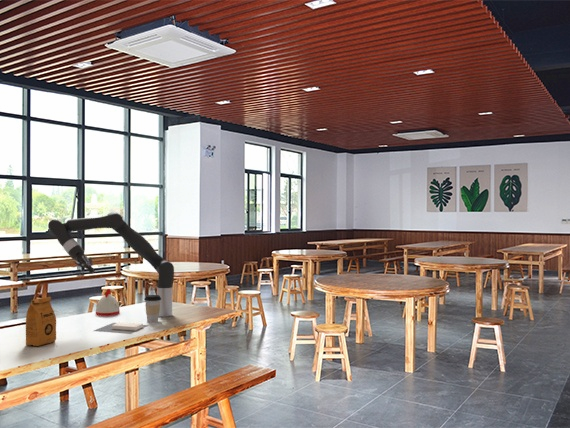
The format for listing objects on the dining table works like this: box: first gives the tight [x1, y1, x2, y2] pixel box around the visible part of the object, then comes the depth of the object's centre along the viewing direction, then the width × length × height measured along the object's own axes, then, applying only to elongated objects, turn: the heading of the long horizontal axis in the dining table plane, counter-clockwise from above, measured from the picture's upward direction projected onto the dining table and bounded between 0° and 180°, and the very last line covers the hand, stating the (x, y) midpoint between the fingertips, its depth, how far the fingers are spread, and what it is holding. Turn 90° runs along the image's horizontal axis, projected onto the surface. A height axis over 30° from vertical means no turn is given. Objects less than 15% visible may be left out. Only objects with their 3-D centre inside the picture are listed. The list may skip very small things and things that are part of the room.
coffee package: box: [25, 296, 57, 347], centre depth 243 cm, size 10×12×22 cm
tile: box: [112, 321, 144, 332], centre depth 274 cm, size 2×8×14 cm
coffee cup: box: [144, 294, 161, 323], centre depth 293 cm, size 9×9×15 cm
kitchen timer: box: [95, 288, 121, 317], centre depth 314 cm, size 14×14×15 cm
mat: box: [93, 322, 149, 335], centre depth 275 cm, size 22×20×1 cm
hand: (93, 272), depth 278 cm, fingers closed
